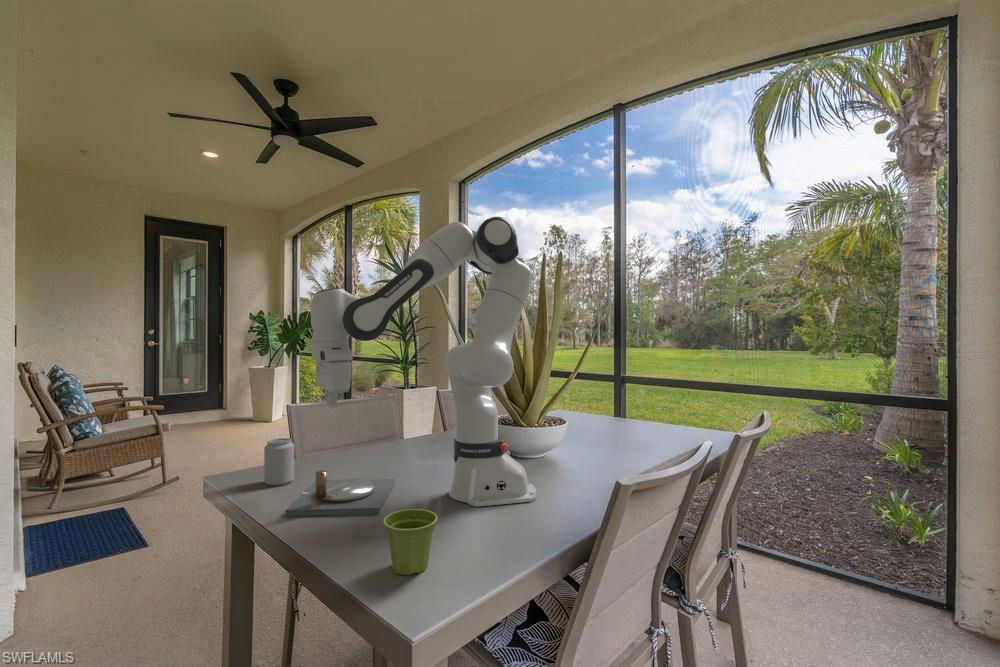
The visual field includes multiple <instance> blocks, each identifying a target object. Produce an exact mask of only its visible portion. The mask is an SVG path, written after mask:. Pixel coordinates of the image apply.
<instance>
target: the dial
mask: <svg viewBox="0 0 1000 667" xmlns="http://www.w3.org/2000/svg"><path fill="white" fill-rule="evenodd" d="M327 476H328V475H327V470H323V469H321V470H317V471H316V472H315V482H316V499H319V500H322V501H327V502H345V501H352V500H357V499H361V498H364V497H366V496H368V495H370V494H372V493H373V492H374V483H373V482H372V481H370V480H371V479H365V478H357V477H354V478H343V479H342V478H341V479H335V481H330V482H327Z"/></svg>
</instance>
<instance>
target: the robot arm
mask: <svg viewBox="0 0 1000 667" xmlns="http://www.w3.org/2000/svg"><path fill="white" fill-rule="evenodd" d="M519 252H520V251H519V245H518V236H517V232H516V229H515V227H514V225H513V224H512V222H511V221H510V220H508V219H507V218H505V217H502V216H491V217H489V218H487V219H485V220H484V221H483V222H481V223H480V225H479V227H478V228H477V230H476V231H475V230H474V229H473V230H472V229H471V228H470V227H469V226H468V225H467V224H465V223H463V222H461V221H453V222H450V223H448V224H446V225H445V226H443V227H442V228H440V229H438V230H437V231H435V232H434V233H433V234H431V235H430V236H429V237H428V238H426V239H425V240H424V241H423V242H422V243H420V245H419V246H418V247H417V248H415V250H414V251H413V252H412V254H411V255H409V258H408V260H407V262H406V264H405V265H404V266H403V268H402V270H401V271H399V272H398V274H397V275H395V276H394V277H393V278H392V279H391V280H390V281H388V282H387V283H386V284H384V285H383V286H382V287H381V288H379V289H378V291H376V292H374V293H373V294H371V295H369V296H364V297H361V298H359V297H357V296H355V295H353V294H351V293H349V292H348V291H346V290H345V289H344V288H341V287H332V288H325V289H322V290H319V291H317V292H316V293H315V294H314V295H313V296H312V299H311V304H310V305H311V306H310V326H311V328H312V337H311V360H312V361H315V374H314V375H315V376H314V377H315V384H316V387H319V388H320V389H323V390H324V394H325V398H326V406H327V407H328V408H330V409H335V408H337V407H338V398H339V393H348V392H349V391H350V388H351V377H352V373H351V371H352V364H351V361H353V359H354V358H353V357H354V356H353V355H354V354H353V351H352V350H351V348H350V344H349V338H350V337H352V338H353V339H355V340H358V341H360V342H361V341H363V342H369V341H373V340H376V339H377V338H379V337H380V336H382V334H383V333H384V332H385V331H386V328H387V327H388V324H389V321H390V319H391V317H392V315H393V314H394V313H395V312H396V311H397V310H398V309H399V308H401V307H402V305H404V304H405V303H406V302H407V301H408V300H410V299H411V298H412V297H413V296H414V295H415V294H417V293H418V292H419V291H421V290H423V289H425V288H428V287H432V286H434V285H437V284H438V283H440V282H441V281H443V280H444V279H446V278H447V277H449V275H451V274H452V273H453V272H454V271H455V270H457V269H458V268H459V267H460V266H462V264H464V263H466V262H467V264H469V265H471V266H472V267H474V268H476V269H477V270H478V271H480V272H482V273H483V274H485V275H490V276H491V277H490V281H489V284H488V285H487V288H486V289H485V293H484V295H483V297H482V299H481V301H480V304H479V306H478V308H477V311H476V313H475V316H474V321H475V326H476V327H475V331H474V335H473V336H474V337H473V340H472V342H471V343H469V342H468V343H467V342H466V343H465V342H464V343H461V344H458V345H455V346H454V347H452V348H451V349H449V350H448V352H447V353H446V354H445V357H444V360H443V365H444V366H443V367H444V370H445V372H446V374H447V375H448V376H447V377H449V382H450V384H449V385H450V388H451V392H452V398H453V403H454V411H455V417H454V418H455V419H454V420H455V423H454V424H455V438H453V439H454V441H453V443H452V444H453V446H452V447H453V453H452V454H453V455H452V456H453V461H454V467H453V475H452V481H451V484H450V485H451V486H450V489H449V491H448V492H449V493H448V496H449V497H451V499H454V500H456V501H459V502H462V503H466V504H469V505H470V506H471V507H486V506H488V507H489V506H499V505H507V504H509V505H510V504H518V503H519V504H521V503H531V502H534V500H535V499H536V498H537V489H536V487H535V485H534V484H532V483H531V482H529V481H528V476H527V472H526V470H525V468H524V466H523V465H522V464H521V463H519V462H518V461H517V460H516V459H514V458H513V457H511V456H510V455H509V454H507V452H508V451H509V445H508V443H506V441H505V440H504V439H503V438H502V439H501V438H500V437H499V410H498V407H497V405H496V403H495V401H494V399H493V395H492V393H491V388H497V387H501V386H503V385H505V384H506V383H508V382H509V380H510V379H511V378H512V376H513V374H514V369H515V367H514V366H515V365H514V364H515V363H514V360H513V357H512V344H513V338H514V332H515V330H516V327H517V324H518V322H519V319H520V316H521V314H522V312H523V309H524V307H525V304H526V302H527V298H528V295H529V293H530V288H531V284H532V279H533V274H532V270H531V269H530V267H529V266H528V265H527V264H526V263H524V262H523V261H520V260H518V258H517V257H518V255H519V254H520V253H519Z"/></svg>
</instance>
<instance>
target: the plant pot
mask: <svg viewBox="0 0 1000 667" xmlns="http://www.w3.org/2000/svg"><path fill="white" fill-rule="evenodd" d="M437 522H438V516H437V514H436V513H435V512H433V511H432V510H427V509H422V508H410V509H402V510H397V511H393V512H391V513H389V514H387V515H386V516H385V517H384V518H383V525H384V527H385V529H386V533H387V534H388V540H389V548H390V549H389V550H390V556H391V562H392V564H391V565H392V569H393V571H394V572H395V573H396V574H399V575H403V576H411V575H412V574H414V573H418V574H420V573H422V572H424V571H425V570H426V569H427V568H428V566H429V558H430V552H431V547H432V546H431V545H432V539H433V532H434V530H435V525H436V523H437Z"/></svg>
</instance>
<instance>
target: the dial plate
mask: <svg viewBox="0 0 1000 667" xmlns="http://www.w3.org/2000/svg"><path fill="white" fill-rule="evenodd" d="M335 480H336V479H335ZM335 480H334V479H331V480H330V479H329V480H327V482H330V481H335ZM369 480H370V481H372V482H373V483H374V492H373V493H372V494H370V495H368V496H366V497H364V498H361V499H357V500H352V501H345V502H327V501H322V500H319V499H316V481H314V483H312V484H311V485H310V486H309V488H307V489H306V490H305V491H304V492H302V493H301V495H300V496H299V497H298V498H297V499H296V500H295V501H293V503H291V504H290V505H289V506H288V507H287V508H286V509H285V517H321V515H330V516H361V515H362V516H364V515H365V516H367V515H368V516H369V515H370V514H371V515H372V514H373V516H374V514H376V515H380V513H381V512H382V510H383V508H384V506H385V505H386V503H387V501H388V499H389V497H390V495H391V493H392V491H393V489H394V487H395V486H396V479H395V478H394V479H393V478H392V479H382V478H381V479H369ZM315 515H316V516H315ZM318 515H320V516H318ZM371 515H370V516H371Z"/></svg>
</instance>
